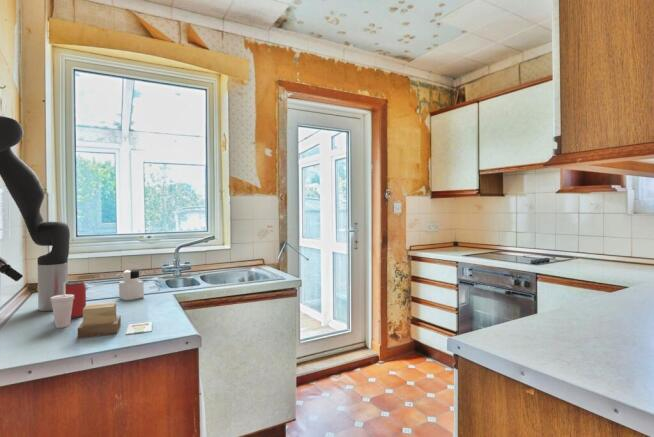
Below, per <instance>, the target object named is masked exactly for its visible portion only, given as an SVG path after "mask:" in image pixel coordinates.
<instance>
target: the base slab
mask: <svg viewBox="0 0 654 437" xmlns="http://www.w3.org/2000/svg"><path fill="white" fill-rule="evenodd" d="M121 322H122V317H121V315H116V319H115V321H114V323H105V324H96V325H86V326H83V321H82V322H81V323H80V324H79V325H78V327H77V339H84V338H92V337H100V336H110V335H112V336H113V335H117V334H118V332H119V330H120V327H121V325H122V323H121Z"/></svg>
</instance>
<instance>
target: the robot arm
mask: <svg viewBox="0 0 654 437" xmlns="http://www.w3.org/2000/svg"><path fill="white" fill-rule="evenodd" d="M23 128H24V127H23V126H22V124H21V123H20V122H19V121H17V120H16V119H15V118H11V117H7V116H2V115H0V177H1V179H2V182H3V184H4V186H5V187H6V189H7V191H8V193H9V195H10V196H11V198H12V200H13V201H14V202H15V204H16V207H17V209H18V210H19V212H20V214H21V217H22V218H23V221H24V223H25V226H26V228H27V231H28V233H29V236H30V238H31V240H32V241H33V242H34V244H35V245H36V246H41V247H50V246H51V250H50V251H49V252H48V253H46V254H43V255H41V256H38V257H37V303H38V304H37V308H38V309H37V310H38V311H39V312H49V311H52V312H53V307H52V301H50V298H51V297H53V296H57V295H63V283H67V282H69V277H68V276H69V271H68V270H69V269H68V259H69V253H70V236H71V234H70V233H71V232H70V228H69V226H68V224H67V223H66V222H64V221H45V220H44V218H43V216H42V214H41V207H42V205H43V201H44V199H45V188H44V187H43V185H42V183H41V181H40V178H39V177H38V175H37V174H36V172H35V171H34V170H33V169H32V168H31V167H30V166H29V165H27V164H26V163H25V162H24V161H23V160H22V159H21V158H20V157H19V156H18V155H17V154H16V153H15V151H14V150H13V149H12V147H15V146H17V144H19V143H20V142H21V141H22V140H23V137H24V129H23ZM0 273H1V274H4V275H6V276H7V277H8V278H10V279H12V280H13V281H15V282H18V281H20V280H21V279H22V278H23V274H21V273H20V272H18V271H17V270H16V269H14V268H12V266H11V265H10V264H8V262H7V261H6V260H5V259H3V258H2V257H1V256H0Z"/></svg>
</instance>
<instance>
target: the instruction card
mask: <svg viewBox="0 0 654 437" xmlns="http://www.w3.org/2000/svg"><path fill="white" fill-rule="evenodd" d="M152 329H153V321H147V322H139V323H130V324H129V323H128V326H127V328H126V331H125V335H126V336H127V335H136V334H142V333H143V334H144V333H149V332H151V333H152Z"/></svg>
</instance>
